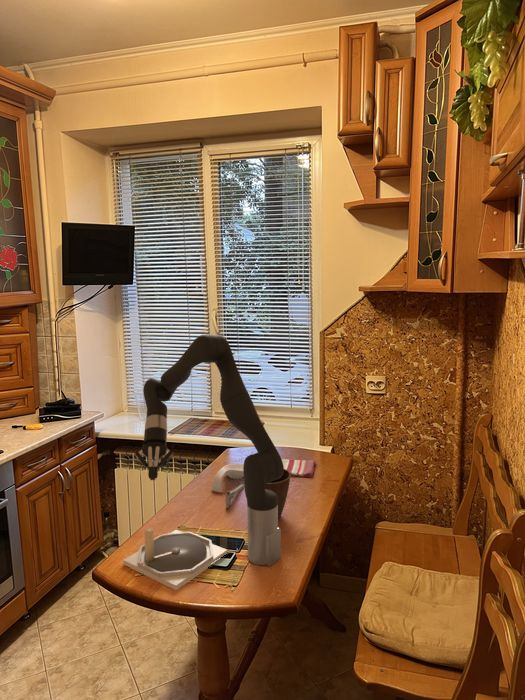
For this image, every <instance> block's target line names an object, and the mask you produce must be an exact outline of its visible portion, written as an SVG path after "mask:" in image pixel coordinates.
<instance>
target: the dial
mask: <svg viewBox="0 0 525 700" xmlns="http://www.w3.org/2000/svg"><path fill="white" fill-rule="evenodd" d="M143 534H144V544H145V562H146V564H147V565H148V566H149V567H151V568H153V569H155V570H157V571H161V572H167V571H177V570H187V569H191V568H193V567H195V566H196V565H198V564H199V563H201V562H202V561H203V560H204V559H205V557H206V555H207V548H206V545H205V544H204V542H202V541H201V540H199V539H197V538H194V537H190V536H172V537H167V538H163V539H161V540H158V541H156V542H154V538H155V537H154V536H155V535H154V529H153V528H145V529H144V532H143Z"/></svg>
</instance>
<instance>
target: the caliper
mask: <svg viewBox="0 0 525 700" xmlns="http://www.w3.org/2000/svg"><path fill="white" fill-rule="evenodd" d="M244 489H245V487H244V484H240V485H239V486H237V487H236V488H235V489H234V490H227V491H226V495H225V508H226V509H229V508H230V507H231V504H232V500H234V498H235V496H236V495H238V493H240V491H242V490H244Z"/></svg>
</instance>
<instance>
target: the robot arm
mask: <svg viewBox="0 0 525 700" xmlns="http://www.w3.org/2000/svg"><path fill="white" fill-rule="evenodd" d="M207 363H208V364H209V363H210V364H211V363H212V364H213V363H214V364H215V365H216V367H217V369H218V371H219V375H220V379H221V385H220V393H219V399H220V400H219V401H220V405H221V407H222V409H223V411H224V414H225V416H226V418H227V420H228V422H229V423H230V424H232V426H233V427H234V428H235V429H237V430H238V431H239V432H240V433H242V434H243V435H244V436H246V437H247V439H248V440H249V441H250V442H251V443H252V444H253V446H254V448H255V450H256V453H252V454H249V455H247V456H246V457H245V459H244V462H243V464H244V466H243V473H244V477H243V483H244V484H243V485H244V494H245V498H246V508H247V509H246V510H247V511H246V513H247V518H246V519H247V520H246V523H247V529H246V530H247V560H249V562H251V563H252V564H254V565H258V566H268V567H270V566H272V565H273V564H274V563H275V562H276V561H278V560H279V559H280V558H281V557H282V551H281V550H282V537H281V535H282V532H281V529H282V528H280V527H279V520H278V497H277V494H276V493H275V492H273V491H271V490H267V489H265V484H266V483H269V482H272V481H274V480H277V479H279V478H281V477H282V475H283V473H284V466H283V462H282V459H283V458H282V457H281V455H280V453H279V451H278V449H277V448H276V446H275V444H274V443H273V440H272V439H271V437H270V435H269V433H268V432H267V431H266V428H265V426H264V425H263V422H262V420H261V418H260V416H259V413H258V412H257V409H256V408H255V404H254V402H253V400H252V398H251V396H250V394H249V392H248V390H247V387H246V386H245V383H244V380H243V379H242V376H241V374H240V371H239V369H238V366H237V363H236V361H235V357H234V354H233V351H232V349H231V346H230V343H229V341H228V340H227V338H226V337H224V335H222V334H221V335H220V334H208V333H207V334H200V335H199V336H197V337H196V338H195V339H194V340H193V341H192V342H191V344H190V345H189V347H188V348H187V349H185V351H184V352H183V354H182V355H181V356H180V358H178V360H177V361H176V362H175V363H174V364H173V365H172V366H170V367H168V369H167V370H166V371H164V372H163V373H162V374H161V377H160V379H158V378H154V377H153V378H149V379H147V380H146V381H145V383H144V385H143V390H142V391H143V396H144V397H143V398H144V401H145V406H146V417H145V418H146V419H145V423H144V434H143V435H144V437H143V444H142V447H141V449H140V450H139V451H135V452H134V455H135V458H136V459H137V460H138V461H139V463H140V464H141V465H142V466H143V468H144V469H148V472H147V474H148V475H147V476H148V479H150V481H156V479H158V475H159V473H158V472H159V469H160V468H162V469H163V468H164V467H165V466H166V465H167V464H168V463H169V461H170V460H171V459H172V458H173V457H174V452H173V450H170V449H169V448H168V446H167V439H168V437H167V435H168V419H167V418H168V407H167V406H168V405H166V404H165V403H164V402H169V401H170V400H171V398H173V395H174V394H175V392H176V390H177V389H178V388H180V386H181V385H182V384H184V383H185V382H186V381H187V380H188V379H189V378H190V377H191V373H192V371H193V368H195V367H196V366H198V365H200V364H207ZM144 456H145V457H146V459H148V462H147V461H146V460H145V459H144ZM163 456H164V457H163ZM162 457H163V458H162Z"/></svg>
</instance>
